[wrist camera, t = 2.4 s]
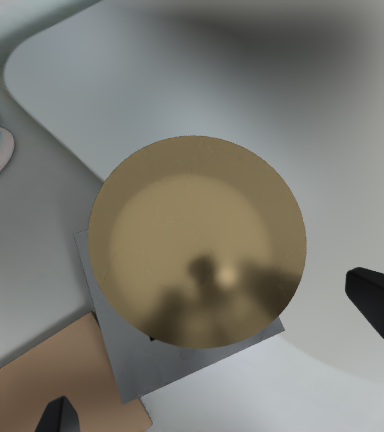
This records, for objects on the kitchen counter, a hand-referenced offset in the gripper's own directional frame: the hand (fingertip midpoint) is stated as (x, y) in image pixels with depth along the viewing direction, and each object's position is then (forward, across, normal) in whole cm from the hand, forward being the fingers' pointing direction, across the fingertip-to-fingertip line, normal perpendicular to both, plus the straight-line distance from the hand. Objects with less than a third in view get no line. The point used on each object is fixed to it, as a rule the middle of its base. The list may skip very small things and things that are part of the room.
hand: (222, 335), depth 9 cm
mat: (+6, +8, +8) cm, 13 cm away
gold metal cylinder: (+9, 0, +6) cm, 11 cm away
